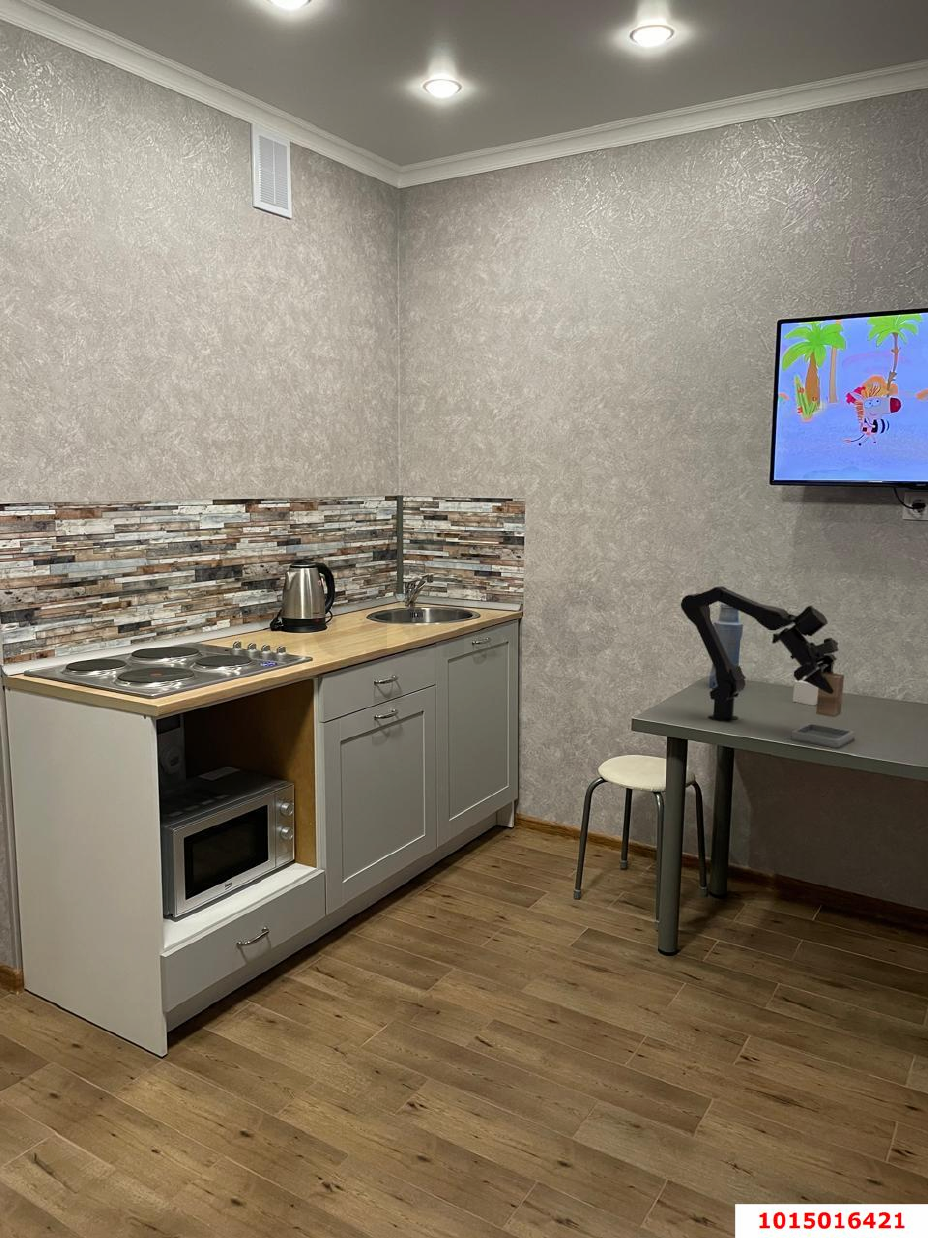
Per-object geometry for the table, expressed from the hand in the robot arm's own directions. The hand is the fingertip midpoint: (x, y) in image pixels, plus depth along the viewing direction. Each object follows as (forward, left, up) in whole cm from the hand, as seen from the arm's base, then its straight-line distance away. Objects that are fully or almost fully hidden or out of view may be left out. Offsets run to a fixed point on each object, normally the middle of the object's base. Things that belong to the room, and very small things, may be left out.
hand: (835, 691), depth 254 cm
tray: (-2, +2, -13) cm, 14 cm away
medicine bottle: (+39, +22, -14) cm, 47 cm away
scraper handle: (0, +1, -7) cm, 7 cm away
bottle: (+39, +51, -14) cm, 65 cm away
